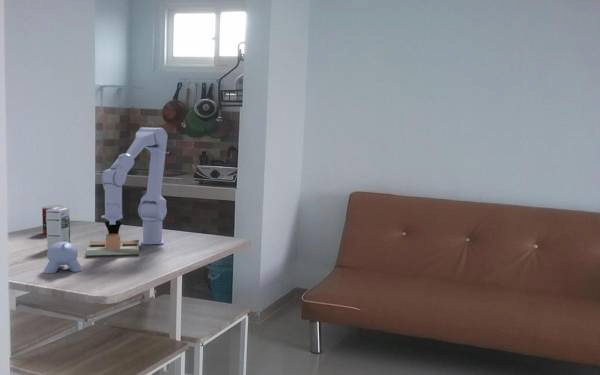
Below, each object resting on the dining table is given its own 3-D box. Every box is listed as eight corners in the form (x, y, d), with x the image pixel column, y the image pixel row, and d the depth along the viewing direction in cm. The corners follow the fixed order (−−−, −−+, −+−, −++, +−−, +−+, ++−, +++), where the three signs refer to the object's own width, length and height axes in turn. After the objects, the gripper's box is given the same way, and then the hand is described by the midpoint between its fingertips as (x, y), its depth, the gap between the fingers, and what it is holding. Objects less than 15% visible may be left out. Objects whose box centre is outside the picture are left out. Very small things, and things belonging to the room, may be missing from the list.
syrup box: (61, 250, 215) (60, 209, 213) (46, 249, 216) (45, 208, 214) (70, 247, 220) (70, 207, 219) (56, 246, 221) (55, 206, 220)
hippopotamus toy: (80, 262, 197) (80, 233, 196) (82, 273, 184) (82, 242, 183) (44, 264, 193) (44, 235, 192) (44, 276, 179) (43, 244, 178)
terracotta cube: (106, 246, 211) (106, 233, 210) (120, 246, 212) (120, 233, 211) (106, 249, 206) (105, 236, 206) (119, 248, 208) (119, 236, 207)
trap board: (90, 247, 220) (90, 240, 220) (138, 246, 225) (138, 239, 224) (86, 257, 205) (86, 249, 205) (138, 255, 209) (138, 248, 209)
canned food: (38, 233, 244) (38, 206, 242) (52, 230, 251) (51, 204, 250) (54, 235, 241) (54, 208, 240) (67, 232, 249) (67, 205, 248)
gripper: (102, 200, 217) (103, 237, 219) (99, 206, 203) (100, 246, 205) (123, 200, 219) (123, 237, 220) (121, 206, 205) (121, 245, 206)
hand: (113, 241), depth 213 cm, fingers closed
